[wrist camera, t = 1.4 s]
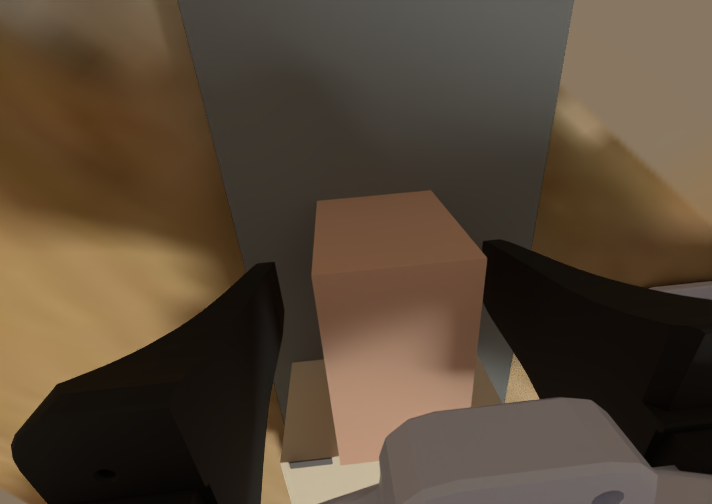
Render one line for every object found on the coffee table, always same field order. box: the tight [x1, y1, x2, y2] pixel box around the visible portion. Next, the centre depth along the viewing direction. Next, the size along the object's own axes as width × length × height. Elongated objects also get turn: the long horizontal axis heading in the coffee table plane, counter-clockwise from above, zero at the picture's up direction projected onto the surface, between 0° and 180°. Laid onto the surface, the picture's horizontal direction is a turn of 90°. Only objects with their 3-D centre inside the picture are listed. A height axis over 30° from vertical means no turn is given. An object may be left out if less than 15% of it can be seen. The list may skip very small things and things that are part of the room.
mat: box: [178, 0, 574, 425], centre depth 15 cm, size 11×22×1 cm, turn 4°
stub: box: [311, 190, 487, 465], centre depth 12 cm, size 4×7×5 cm, turn 4°
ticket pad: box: [280, 355, 503, 504], centre depth 15 cm, size 9×7×5 cm
